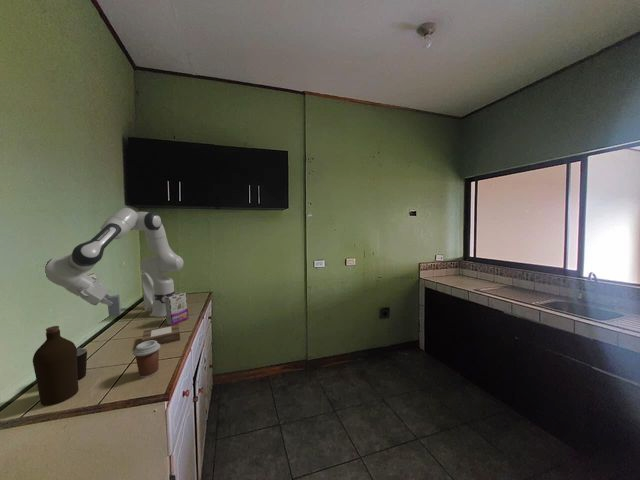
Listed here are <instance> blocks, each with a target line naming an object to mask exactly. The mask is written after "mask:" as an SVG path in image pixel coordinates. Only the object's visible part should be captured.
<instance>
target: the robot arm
mask: <svg viewBox="0 0 640 480" xmlns="http://www.w3.org/2000/svg"><path fill="white" fill-rule="evenodd" d="M162 221H163V220H162V217H161V216H160V214H159V213H156V212H152V211H135V210H134V209H133V208H130V207H123V208H120V209H118V210H117V211H116V212H114V213H113V214H111V215H110V216H109V217H108V218H107V219H106V220H105V221H104V222H103V224H102V225H101V226H100V231H99V232H97V234H96V235H94V236H93V237H92V238H91V239H90V240H88V241H87V240H86V241H85V242H82V243H79V244H78V245H76V246H75V247H74V248H73V249H72V253H71V254H68V255H65V256H61V257H53V258H51V259H49V260H48V261H47V262H46V263H47V264H46V263H45V264H46V266H45V273H46V277H47V278H48V279H47V278H46V279H47V280H48V281H50V282H52V284H55V285H57V286H61V287H62V288H64V289H65V290H66V291H68V292H69V293H71V294H73V295H75V296H77V297H80V298H81V299H83V300H84V301H86V303H88V304H90V305H93V306H97V305H98V304H99V303H101V304H104V305H107V307H108V306H111V305H112V304H113V302H112V301H109V300H107V298H108V297H109V296H111V295H110V294H109V292H110V288H109V287H107V286H106V285H104V283H101V282H100V281H98V279H97V278H96V277H94V276H93V277H92V276H90V275H88V274H86V273H87V272H89V271H90V270H92V269H93V268H95V266H96V264H97V263H98V262H99V261H100V260H102V258H103V255H104V251H105V249H106V248H107V247H108V245H110V244H111V243H112V242H113V240H120V239H122V238H123V237H124V236H126V235H127V234H128V233H129V232H130V231H133V230H134V231H144V235H145V240H146V243H147V248H148V250H149V251H150V252H152V253H154V254H156V255H154V256H148V257H143V258H142V260H141V262H140V269H141V270H143V271H142V272H143V273H147V274H148V275H149V276H150V277H151V279H152V280H153V283H154V284H153V289H154V298H155V301H154V302H153V303H152V306H153V309H152V311H151V313H150V314H149V317H155V318H159V317H167V316H166V306H165V298H167V297H170V296H173V295H176V291H175V284H174V280H173V278H171V277H170V276H167V274H166V273H174V272H177V271H181V270H182V269H183V267H184V263H185V262H184V259H183V258H182V257H181V256H179V255H178V254H176V252H174V251H173V249H172V248H171V247H170V245H169V241H168V237H167V234H166V230H165V227H164V225H163V222H162Z"/></svg>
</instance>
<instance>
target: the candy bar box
mask: <svg viewBox="0 0 640 480" xmlns="http://www.w3.org/2000/svg"><path fill="white" fill-rule="evenodd" d="M187 300H188V299H187V293H185V292H180V293H175V295H173V296H170V297H167V298H165V306H166V316H165V317H166V325H167V326H170V325H175V324H179V323H181V322H184V321H187V320H188V319H189V309H188V301H187Z"/></svg>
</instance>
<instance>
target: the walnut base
mask: <svg viewBox="0 0 640 480" xmlns="http://www.w3.org/2000/svg"><path fill="white" fill-rule="evenodd" d="M150 340H155V341H157V343H159V344H160V346H161V344H162V345H166V344H171V343H174V342H178V341H181V333H180V325H179V323H177V324H174V325H166V326H162V327H157V328H152V329H147V330H143V333H142V338H141V343H142V342H145V341H150ZM170 342H171V343H170ZM165 343H166V344H165Z"/></svg>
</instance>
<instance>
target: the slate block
mask: <svg viewBox="0 0 640 480" xmlns="http://www.w3.org/2000/svg"><path fill="white" fill-rule="evenodd" d="M107 300H109V301H112V302H113V304H112V305H111V306H108V305H107V311H108V317H109V318H111V317H117V316H121V314H122V310H121V309H122V308H121V306H122V305H121V297H120V294H115V295H110V296H109V297H108V298H107Z"/></svg>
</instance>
